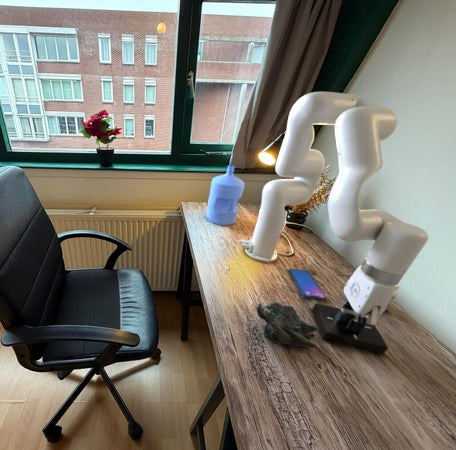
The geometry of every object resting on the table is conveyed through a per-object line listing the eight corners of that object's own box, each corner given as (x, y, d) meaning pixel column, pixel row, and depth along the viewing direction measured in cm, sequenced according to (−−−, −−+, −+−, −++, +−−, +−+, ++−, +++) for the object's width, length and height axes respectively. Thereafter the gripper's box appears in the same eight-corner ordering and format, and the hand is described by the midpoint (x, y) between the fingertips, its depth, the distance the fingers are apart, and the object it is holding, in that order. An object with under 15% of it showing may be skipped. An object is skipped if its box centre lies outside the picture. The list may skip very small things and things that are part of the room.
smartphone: (308, 270, 92) (328, 299, 79) (308, 272, 92) (326, 301, 79) (288, 268, 93) (304, 295, 79) (287, 270, 93) (303, 297, 80)
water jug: (199, 214, 132) (208, 163, 119) (222, 211, 138) (233, 161, 125) (217, 228, 120) (229, 171, 107) (242, 223, 126) (255, 169, 113)
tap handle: (336, 322, 68) (342, 311, 66) (334, 317, 69) (340, 306, 67) (363, 328, 67) (370, 317, 65) (360, 324, 68) (367, 313, 66)
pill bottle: (361, 299, 81) (375, 276, 77) (375, 298, 82) (390, 276, 77) (375, 312, 76) (391, 288, 72) (390, 311, 77) (407, 288, 72)
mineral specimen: (274, 348, 57) (284, 306, 58) (241, 327, 69) (250, 293, 70) (322, 359, 61) (331, 319, 62) (282, 338, 73) (290, 304, 74)
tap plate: (322, 339, 66) (327, 331, 65) (311, 309, 76) (315, 302, 74) (382, 355, 63) (388, 347, 62) (363, 322, 73) (368, 314, 71)
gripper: (349, 249, 68) (324, 298, 76) (380, 290, 53) (344, 345, 62) (381, 255, 66) (351, 304, 74) (421, 299, 51) (379, 354, 60)
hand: (349, 322), depth 68 cm, fingers open, 4 cm apart
